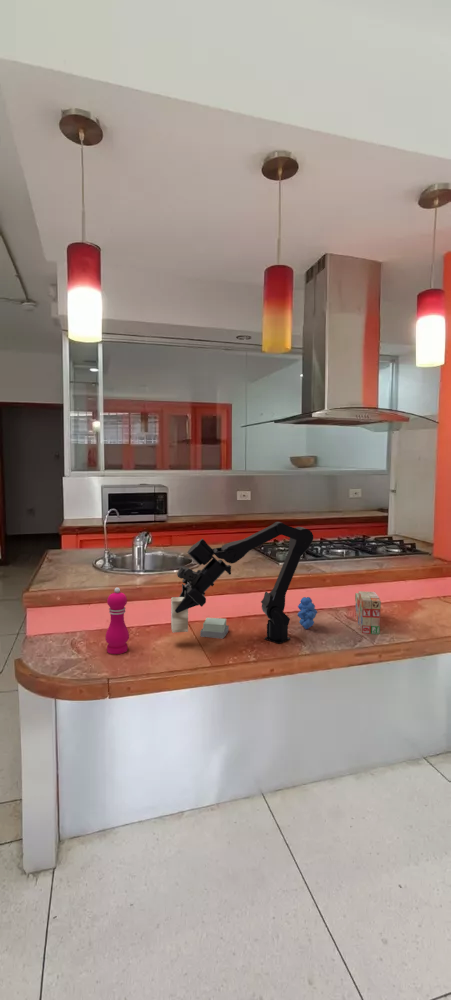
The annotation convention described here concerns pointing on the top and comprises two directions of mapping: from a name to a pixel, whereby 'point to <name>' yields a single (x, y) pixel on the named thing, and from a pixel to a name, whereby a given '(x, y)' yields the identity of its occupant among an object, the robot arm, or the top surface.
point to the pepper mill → (117, 624)
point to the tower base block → (214, 633)
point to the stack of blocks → (368, 612)
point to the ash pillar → (178, 616)
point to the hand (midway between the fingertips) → (175, 609)
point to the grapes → (306, 612)
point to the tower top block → (214, 624)
